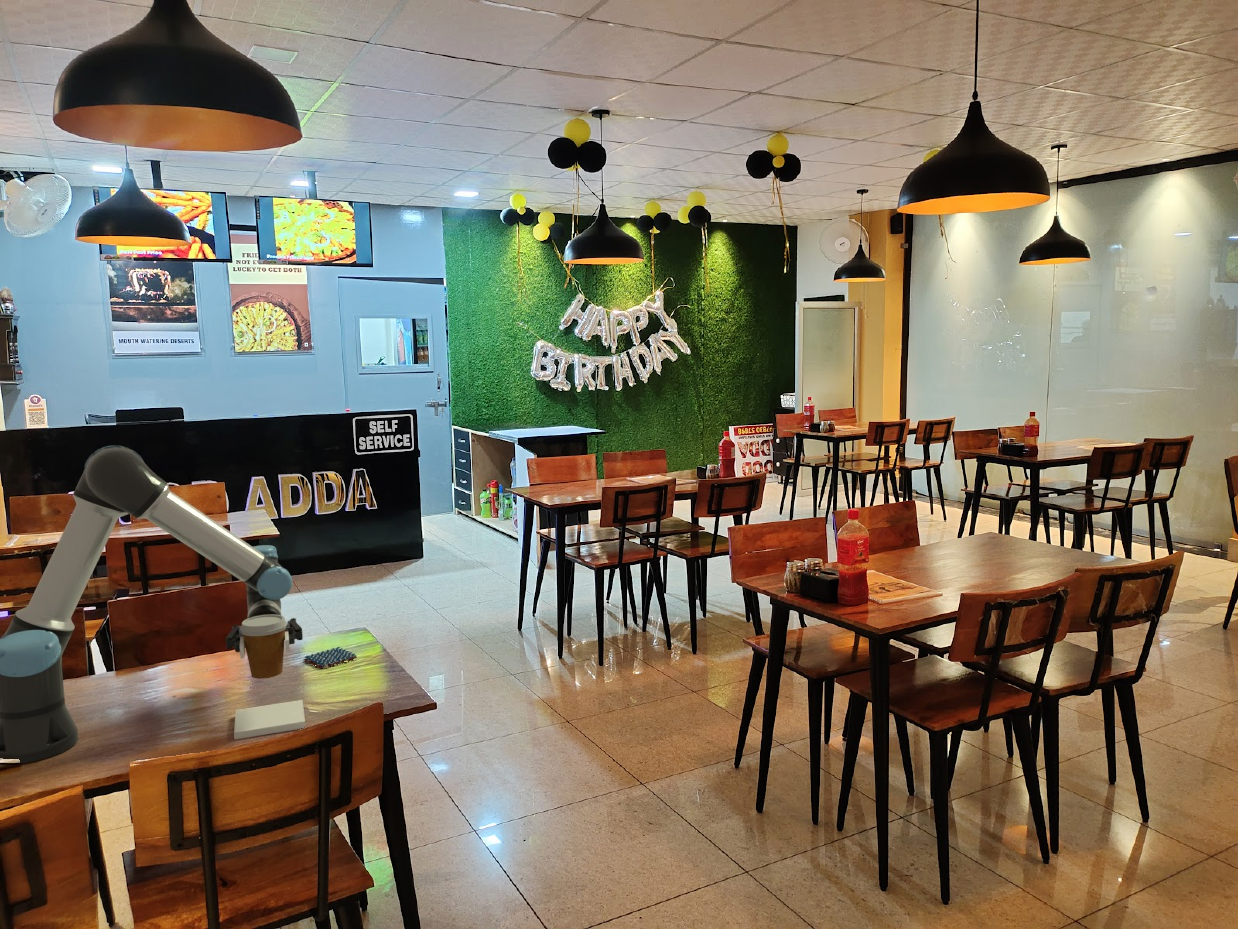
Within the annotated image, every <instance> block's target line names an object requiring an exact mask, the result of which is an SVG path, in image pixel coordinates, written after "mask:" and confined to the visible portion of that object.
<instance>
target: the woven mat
mask: <svg viewBox="0 0 1238 929" xmlns="http://www.w3.org/2000/svg"><path fill="white" fill-rule="evenodd" d="M357 658H358V657H357V654H355V653H353V652H350V651H349V650H346V649H344V648H342V647H341V646H337V647H334V648H333V647H332V648H331V649H326V650H323V651H320V652H315V653H311V654H309V655H306V656H305V657H304V659H303V662H304V661H306V662H305V663H307V664H308V665H311V664H312V665H311V666H313V665H314V666H313V667H315V668H316V667H318V668H317V669H319V668H323V669H327V668H328V667H329V668H330V666H332V665H334V666H332V667H337V666H338V665H337V664H340V665H341V663H344V661H353V660H352V659H356V660H357ZM315 665H316V666H315ZM325 667H326V668H325ZM329 668H328V669H329Z"/></svg>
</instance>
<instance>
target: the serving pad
mask: <svg viewBox="0 0 1238 929" xmlns="http://www.w3.org/2000/svg"><path fill="white" fill-rule="evenodd" d="M305 718H306V717H305V710H304V702H303V699H298V700H292V701H286V702H278V703H272V704H266V705H260V706H252V707H246V708H240V709H236V710H235V716H234V729H233V731H234V732H233V733H234V734H233V737H234V740H241V739H246V738H252V737H257V736H265V735H270V734H276V733H283V732H289V731H295V730H302V729H305V728H306V719H305ZM304 727H305V728H304ZM301 728H302V729H301Z"/></svg>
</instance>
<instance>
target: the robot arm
mask: <svg viewBox="0 0 1238 929" xmlns="http://www.w3.org/2000/svg"><path fill="white" fill-rule="evenodd" d="M169 485H170V484H169V483H168V482H166V481H165V480H164V479H163V478H161V477H160V476H159V475H157V474H156V473H155V472H153V470H152V469H150V467H149V466H148V465H147V464H146V463H145V461H144V460H143V458H142V457H141V455H139V453H137V452H136V451H135V450H133V449H130V448H129V447H126V446H122V445H108V446H107V445H106V446H103V447H100V448H98V449H97V450H95V451H94V452H93V453H91V455H89V457H88V459H86V461H85V464H84V470H83V473H82V475H81V477H80V478H79V480H78V482H77V485H76V487H75V490H74V492H73V493H72V497H73V499H74V501H75V504H76V505H75V507H74V509H73V511H72V513H71V516H70V518H69V519H68V522H67V524H66V526H65V528H64V530H63V532H62V534H61V536H60V539H59V540H58V542H57V545H56V546H55V548H54V551H53V553H52V555H51V556H50V558H49V561H48V563H47V566H46V567H45V569H44V572H43V574H42V576H41V578H40V580H39V582H38V584H37V586H36V588H35V590H34V593H32V594H33V595H32V596H31V599H30V600H29V603H28V605H27V606H25V607H24V608H21V609H19V610H16V611H15V613H14V615H13V617H12V619H11V622H10V623H9V626H8V628H7V630H6V631H5V632H4V634H3V635H2V636H1V638H0V758H3V759H19V760H20V763H21V764H26V763H32V762H37V761H42V760H44V759H48V758H51V757H54V756H57V755H59V754H61V753H64V752H66V751H68V750H70V749H71V748H73V747H74V746H75V745H76V744H77V743H78V741H79V729H78V726H77V724H76V723H75V721H74V719H73V717H72V715H71V713H70V712H69V710H68V707H67V706H66V699H65V686H64V678H63V677H64V676H63V667H62V664H63V654H64V651H65V649H66V647H67V645H68V643H69V640H70V639H71V636H72V634H73V632H74V630H75V628H76V627H75V624H74V622H73V621H72V616H73V615H74V612H75V610H76V608H77V606H78V603H79V601H80V600H81V597H82V596H83V593H84V591H85V589H86V587H87V585H88V583H89V581H90V578H91V577H92V575H93V572H94V570H95V568H96V566H97V563H98V562H99V561H100V557H101V555H102V553H103V551H104V549H105V547H106V545H107V543H108V540H109V539H110V536H111V534H112V532H113V531H114V528H115V525H116V524H117V522H118V520H119V518H121V517H124V516H127V515H130V516H131V517H133V518H134V519H136V520H141V519H146V520H147V521H149V522H150V523H152V524H153V525H155V526H156V527H158V528H160V529H161V530H162V531H164V532H165V533H167V534H169V535H170V536H172V537H174V538H175V539H177V540H178V541H180V542H181V543H183V544H184V545H186V546H187V547H189V548H191V549H192V550H193V551H195V552H197V553H198V554H200V555H201V556H203V557H204V558H205V559H207V560H209V561H210V562H212V563H214V564H215V565H216V566H218V567H220V568H221V569H222V570H224V571H226V572H227V573H229V574H231V575H232V576H233V577H235V578H237V579H238V580H240V581H241V582H243V583H244V584H245V585H246V601H247V603H246V604H247V619H248V618H251V617H255V616H260V615H281V616H282V602H281V600H282V599H283V598H285V597H286V596H288V594H290V591H291V590H292V588H293V578H292V576H291V574H290V572H289V570H288V569H286V568H284V567H283V566H282V565H281V564H280V563H279V562H278V561H279V560H278V558H279V555H278V553H277V548H276V546H274V545H270V544H269V545H267V544H266V545H265V544H263V545H256V546H255V545H254V546H252V545H250V544H249V543H248V542H246V541H244V540H243V539H242V538H240V537H239V536H237V535H236V534H235V533H233V532H232V531H230V530H228V529H227V528H225V527H224V526H222V525H221V524H220V523H218V522H216V521H215V520H214V519H212V518H211V517H209V516H208V515H206V514H205V513H203V512H202V511H201V510H199V509H198V508H196V507H195V506H193V505H192V504H190V503H189V502H187V501H186V500H185V499H183V498H182V497H180V496H178V495H177V494H176V493H174V492H173V491H171V489H170V487H169ZM286 622H287V626H286V628H285V639H284V647H285V653H286V654H287V653H290V652H291V648H290V647H291V646H290V645H294V644H295V643H296V641H295V640H297V641H303V628H302V627H301V626H300V625H299V623H298V622H297V618H295V617H292V618H290V619H289V620H287V621H286ZM241 626H242V625H238V624H233V625H232V626H231V628H232V629H231V630H230V632H229V633H228V635H227V636H226V637H225V644H226V646H225V647H226V650H231V649H233V648H234V652H235V653H239V656H240V660H242V659H245V657H246V656H245V654H246V647H245V643H244V638H243V634H242V633H241V631H240V627H241ZM67 749H68V750H67ZM58 753H59V754H58ZM56 754H57V755H56ZM50 756H51V757H50Z"/></svg>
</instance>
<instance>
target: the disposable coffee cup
mask: <svg viewBox="0 0 1238 929" xmlns="http://www.w3.org/2000/svg"><path fill="white" fill-rule="evenodd" d="M287 622H288V621H286V618H285V616H284V615H282V614H281V615H260V616H255V617H251V618H248V617H247V618H246V619H244V620H243V621H242V622H241V625H240V626H241V627H240V631H241V633H242V634H243V638H244V643H245V653H246V656H247V661H248V666H249V670H250V675H251V678H253V679H257V680H258V679H262V680H263V679H270V678H274V677H278V676H279V675H281V674H282V673H283V671H284V670H283V666H284V655H285V654H284V653H285V652H284V651H285V640H284V639H285V628H286V626H287Z"/></svg>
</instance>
